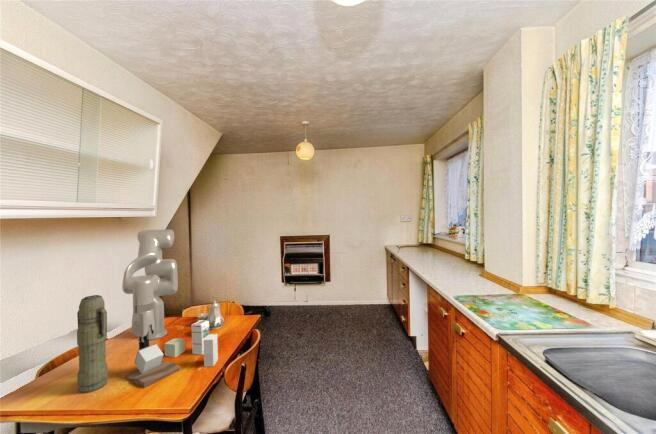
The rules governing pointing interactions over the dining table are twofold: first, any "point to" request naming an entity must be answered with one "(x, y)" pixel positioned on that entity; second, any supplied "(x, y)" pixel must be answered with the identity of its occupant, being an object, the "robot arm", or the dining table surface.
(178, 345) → the sage block
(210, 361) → the skincare box
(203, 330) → the syrup box
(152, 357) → the light grey block
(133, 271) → the robot arm
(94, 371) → the thermos
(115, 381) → the dining table surface
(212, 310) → the chinaware
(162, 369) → the walnut steps
